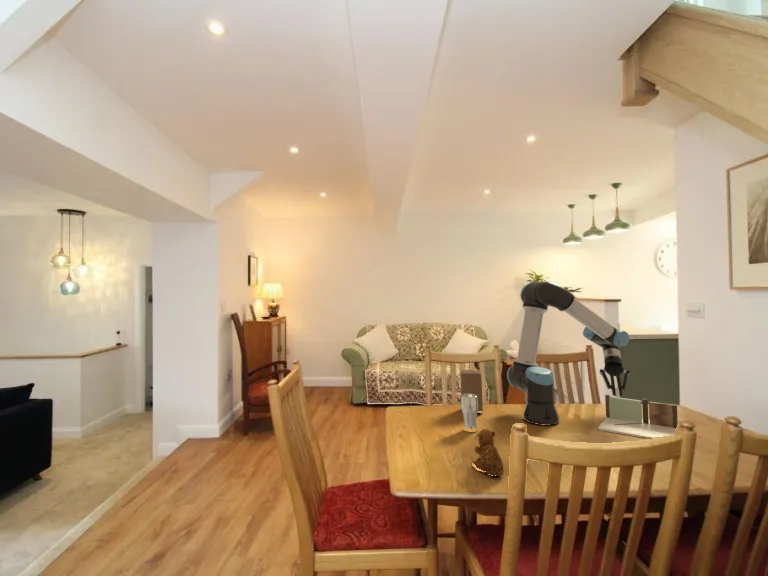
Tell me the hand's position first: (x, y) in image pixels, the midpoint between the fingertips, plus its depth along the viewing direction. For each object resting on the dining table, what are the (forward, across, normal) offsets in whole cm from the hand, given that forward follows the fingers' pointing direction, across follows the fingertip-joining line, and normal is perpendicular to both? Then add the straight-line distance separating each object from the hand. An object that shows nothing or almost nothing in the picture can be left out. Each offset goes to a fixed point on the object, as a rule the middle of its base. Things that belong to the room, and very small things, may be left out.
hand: (618, 401), depth 180 cm
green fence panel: (+9, -1, +1) cm, 9 cm away
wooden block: (+14, +65, +4) cm, 67 cm away
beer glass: (+34, +60, +24) cm, 73 cm away
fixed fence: (+12, -14, +2) cm, 19 cm away
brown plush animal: (+60, +45, +50) cm, 90 cm away
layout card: (+15, -6, +5) cm, 17 cm away
